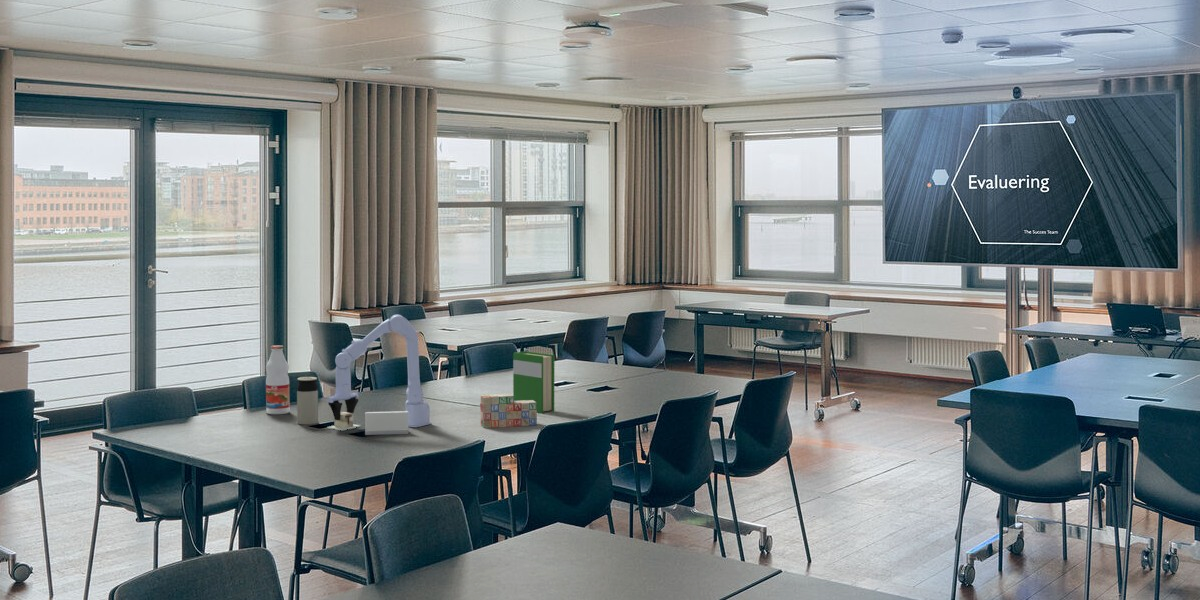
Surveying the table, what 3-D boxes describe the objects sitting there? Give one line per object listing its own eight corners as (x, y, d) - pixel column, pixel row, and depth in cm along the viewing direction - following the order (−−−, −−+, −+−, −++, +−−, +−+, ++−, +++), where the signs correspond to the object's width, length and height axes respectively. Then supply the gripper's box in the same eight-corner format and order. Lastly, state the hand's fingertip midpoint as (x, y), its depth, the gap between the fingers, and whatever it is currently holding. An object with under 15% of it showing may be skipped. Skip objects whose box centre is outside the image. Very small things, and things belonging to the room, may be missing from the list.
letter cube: (343, 424, 446) (343, 411, 445) (353, 425, 443) (353, 413, 443) (334, 426, 442) (334, 413, 441) (344, 427, 439) (343, 414, 438)
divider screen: (365, 434, 428) (365, 413, 427) (365, 432, 433) (365, 411, 432) (408, 433, 431) (408, 412, 430) (408, 431, 436) (408, 410, 435)
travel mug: (312, 425, 447) (312, 379, 445) (293, 424, 448) (293, 379, 447) (321, 421, 454) (321, 377, 453) (303, 421, 456) (302, 376, 455)
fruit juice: (293, 411, 479) (292, 344, 477) (284, 415, 469) (283, 347, 467) (272, 410, 480) (271, 344, 478) (262, 414, 471) (261, 346, 469)
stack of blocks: (533, 422, 455) (533, 392, 454) (536, 425, 449) (536, 394, 448) (480, 425, 449) (480, 394, 449) (483, 428, 443) (483, 396, 443)
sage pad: (345, 424, 449) (345, 423, 449) (360, 426, 444) (360, 425, 444) (326, 428, 440) (326, 427, 440) (341, 430, 436) (341, 429, 436)
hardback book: (554, 411, 481) (554, 354, 480) (541, 413, 476) (541, 356, 474) (526, 406, 494) (526, 351, 492) (513, 408, 488) (513, 352, 487)
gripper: (349, 380, 449) (349, 414, 450) (321, 385, 437) (322, 420, 438) (362, 382, 446) (362, 416, 447) (335, 386, 433) (335, 422, 434)
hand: (343, 418), depth 442 cm, fingers open, 6 cm apart
